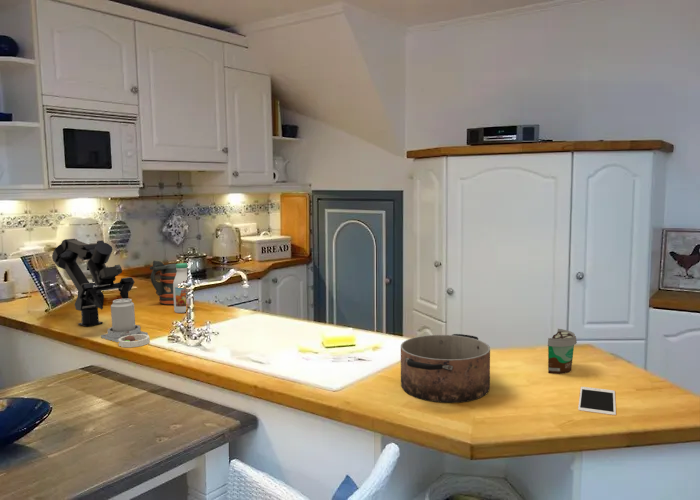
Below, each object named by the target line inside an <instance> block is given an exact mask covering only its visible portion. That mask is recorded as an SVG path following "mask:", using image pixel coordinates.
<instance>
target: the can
mask: <svg viewBox="0 0 700 500" xmlns="http://www.w3.org/2000/svg"><path fill="white" fill-rule="evenodd" d="M132 300H133V299H132V298H128V299H122V298H118V299H114V300H112V304H111V305H110V315H111V327H112V331H114V332H122V331H130V330H134V329H135V325H136V316H135V303H134V302H133V301H132Z"/></svg>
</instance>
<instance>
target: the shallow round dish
mask: <svg viewBox="0 0 700 500" xmlns="http://www.w3.org/2000/svg"><path fill="white" fill-rule="evenodd" d="M127 336H134V337H135V341H125V338H126V337H127ZM127 336H123V337H121V338H119V339H118V342H119V343H118V342H117V343H118V347H120V346H121V348H136V347H137V348H138V347H142V346H146V345H148V344H150V343H151V340H150V335H149V334H148V335H145V334H134V335H127ZM149 342H150V343H149Z"/></svg>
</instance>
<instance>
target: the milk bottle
mask: <svg viewBox="0 0 700 500" xmlns="http://www.w3.org/2000/svg"><path fill="white" fill-rule="evenodd" d="M175 264H176V269H177V273H176V276H175V279H174V282H173V295H174V305H173V309H174V313H178V314H185V312H186V293H187V291H186V288H178V284H180V283H181V282H183V281H186V280H187V269H188V270H189V266H188V263H185V262H183V263H182V262H180V263H175ZM187 267H188V268H187Z"/></svg>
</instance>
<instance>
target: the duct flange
mask: <svg viewBox="0 0 700 500" xmlns="http://www.w3.org/2000/svg"><path fill="white" fill-rule="evenodd" d="M134 334H145V335H149V334H148V332H146V331H142V330H141V325H138V324H135V329H134V330H130V331H122V332H114V331H112V326H110V327H108V328H107V332H106V333H104V334H101V335H100V338H101V337H102V338H101V339H103V338H105V339H104V340H107V339H108V340H107V341H111V340H112V342H114V341H115V343H118V339H119V338H121V337H123V336H127V335H134Z"/></svg>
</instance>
